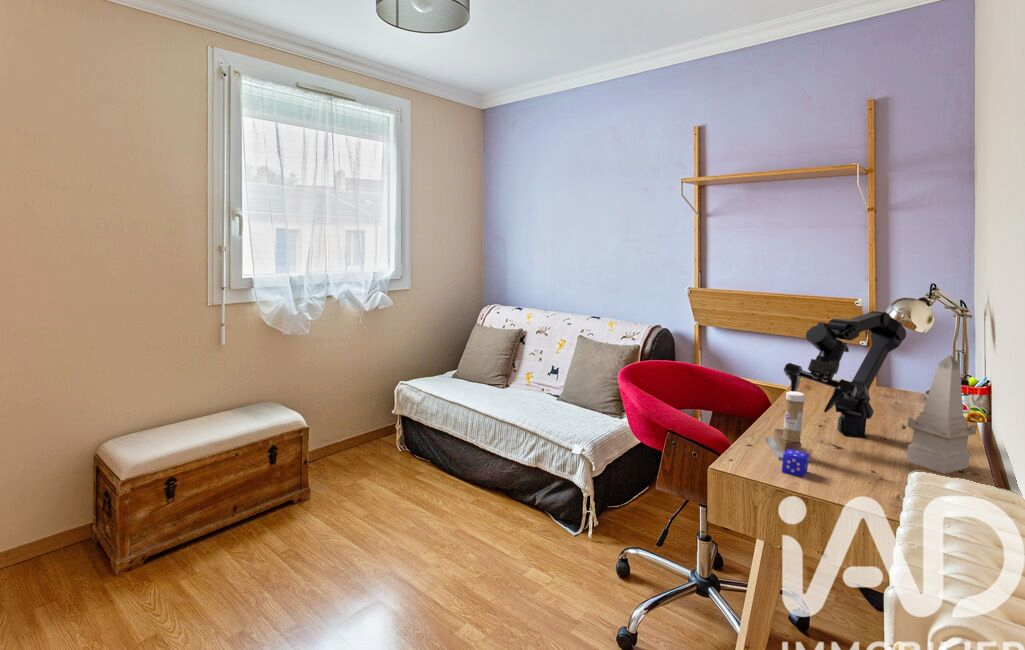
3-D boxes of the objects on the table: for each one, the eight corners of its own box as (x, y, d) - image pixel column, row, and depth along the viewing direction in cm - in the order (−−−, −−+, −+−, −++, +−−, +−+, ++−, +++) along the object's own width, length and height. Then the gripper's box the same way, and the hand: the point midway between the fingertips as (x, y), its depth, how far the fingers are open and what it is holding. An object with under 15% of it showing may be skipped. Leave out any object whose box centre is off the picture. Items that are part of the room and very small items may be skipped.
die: (786, 466, 144) (787, 448, 144) (807, 471, 141) (808, 453, 141) (781, 472, 140) (783, 453, 140) (803, 477, 137) (804, 458, 137)
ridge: (793, 442, 163) (795, 428, 162) (810, 462, 147) (811, 447, 147) (764, 439, 164) (765, 425, 164) (778, 459, 149) (779, 444, 148)
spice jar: (778, 438, 153) (782, 391, 151) (788, 436, 155) (792, 390, 153) (794, 443, 149) (798, 395, 147) (804, 441, 151) (808, 393, 149)
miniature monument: (970, 469, 144) (986, 357, 140) (944, 474, 140) (959, 359, 136) (928, 455, 154) (941, 350, 150) (903, 459, 150) (916, 352, 146)
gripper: (791, 338, 160) (770, 385, 158) (863, 358, 148) (840, 410, 146) (797, 352, 169) (776, 397, 167) (865, 372, 157) (844, 421, 154)
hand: (807, 405), depth 158 cm, fingers open, 9 cm apart
